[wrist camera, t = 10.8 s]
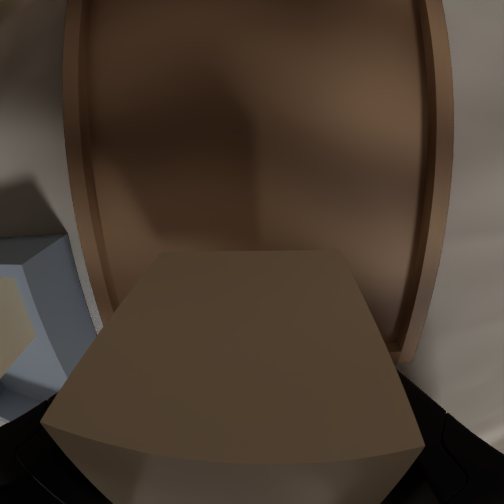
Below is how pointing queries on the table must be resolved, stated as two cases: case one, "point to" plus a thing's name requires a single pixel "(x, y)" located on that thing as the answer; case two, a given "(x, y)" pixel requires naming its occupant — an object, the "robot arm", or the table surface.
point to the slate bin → (44, 320)
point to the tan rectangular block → (12, 324)
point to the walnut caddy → (263, 139)
